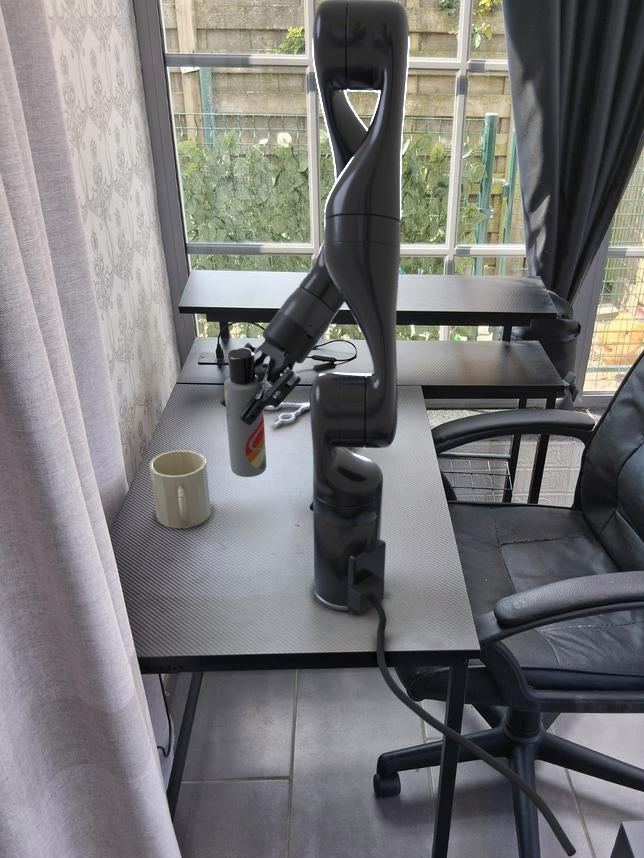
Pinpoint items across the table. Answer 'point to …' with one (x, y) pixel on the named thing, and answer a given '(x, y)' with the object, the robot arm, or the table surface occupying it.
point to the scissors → (299, 405)
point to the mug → (180, 488)
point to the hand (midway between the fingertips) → (234, 413)
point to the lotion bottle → (242, 437)
